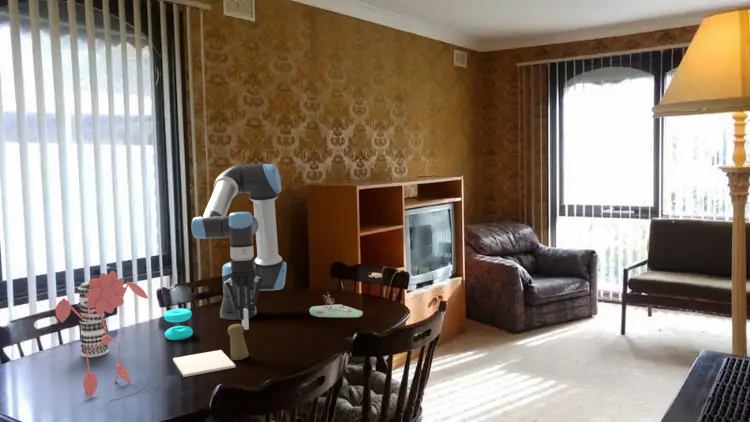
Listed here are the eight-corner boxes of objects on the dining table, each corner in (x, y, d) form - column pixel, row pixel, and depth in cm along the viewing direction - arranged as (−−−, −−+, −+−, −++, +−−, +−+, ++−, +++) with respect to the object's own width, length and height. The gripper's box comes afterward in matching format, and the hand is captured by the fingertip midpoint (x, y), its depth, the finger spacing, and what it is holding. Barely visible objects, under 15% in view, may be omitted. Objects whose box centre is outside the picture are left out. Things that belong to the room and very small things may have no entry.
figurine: (54, 400, 171) (47, 277, 168) (138, 373, 192) (133, 262, 188) (83, 414, 162) (76, 284, 159) (167, 384, 183) (163, 268, 179)
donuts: (158, 311, 229) (182, 306, 236) (160, 337, 230) (184, 331, 237) (172, 315, 222) (196, 310, 229) (173, 342, 223) (198, 336, 230)
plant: (374, 309, 266) (373, 289, 266) (353, 321, 248) (353, 299, 247) (323, 305, 276) (322, 285, 276) (300, 316, 258) (299, 295, 257)
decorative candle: (115, 350, 216) (111, 280, 214) (95, 358, 207) (90, 285, 205) (95, 348, 219) (90, 279, 217) (74, 356, 210) (69, 284, 208)
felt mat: (173, 360, 203) (172, 358, 203) (221, 352, 211) (221, 349, 211) (183, 377, 187) (183, 374, 187) (235, 367, 195) (235, 364, 195)
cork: (231, 354, 207) (227, 323, 206) (249, 351, 208) (245, 320, 206) (229, 361, 201) (224, 329, 200) (247, 358, 202) (242, 326, 200)
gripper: (225, 262, 196) (229, 334, 198) (264, 258, 203) (267, 328, 205) (219, 259, 203) (223, 329, 205) (257, 255, 209) (260, 323, 211)
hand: (245, 328), depth 205 cm, fingers closed
